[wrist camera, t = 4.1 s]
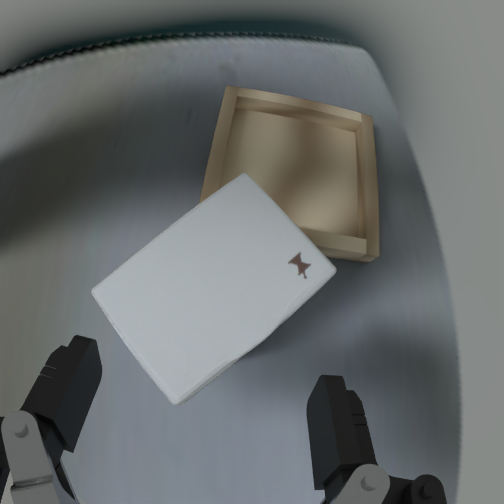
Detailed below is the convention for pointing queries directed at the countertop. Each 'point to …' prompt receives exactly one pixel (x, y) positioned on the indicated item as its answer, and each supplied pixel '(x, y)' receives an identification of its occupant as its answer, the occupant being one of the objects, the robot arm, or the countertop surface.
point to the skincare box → (212, 287)
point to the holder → (303, 166)
